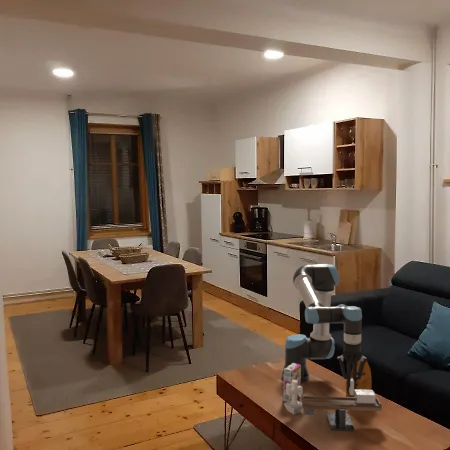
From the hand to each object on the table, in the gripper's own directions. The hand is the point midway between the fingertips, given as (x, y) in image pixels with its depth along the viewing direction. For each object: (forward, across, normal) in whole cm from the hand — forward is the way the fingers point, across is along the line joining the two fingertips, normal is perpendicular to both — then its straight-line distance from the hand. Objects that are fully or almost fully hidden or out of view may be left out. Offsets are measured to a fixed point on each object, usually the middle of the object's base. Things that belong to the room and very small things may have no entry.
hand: (351, 393), depth 210 cm
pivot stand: (+14, -5, 0) cm, 14 cm away
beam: (+9, -5, 0) cm, 10 cm away
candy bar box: (+14, -24, +24) cm, 37 cm away
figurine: (+14, -24, +10) cm, 30 cm away
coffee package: (+14, +8, +21) cm, 26 cm away
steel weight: (+4, +6, 0) cm, 7 cm away
